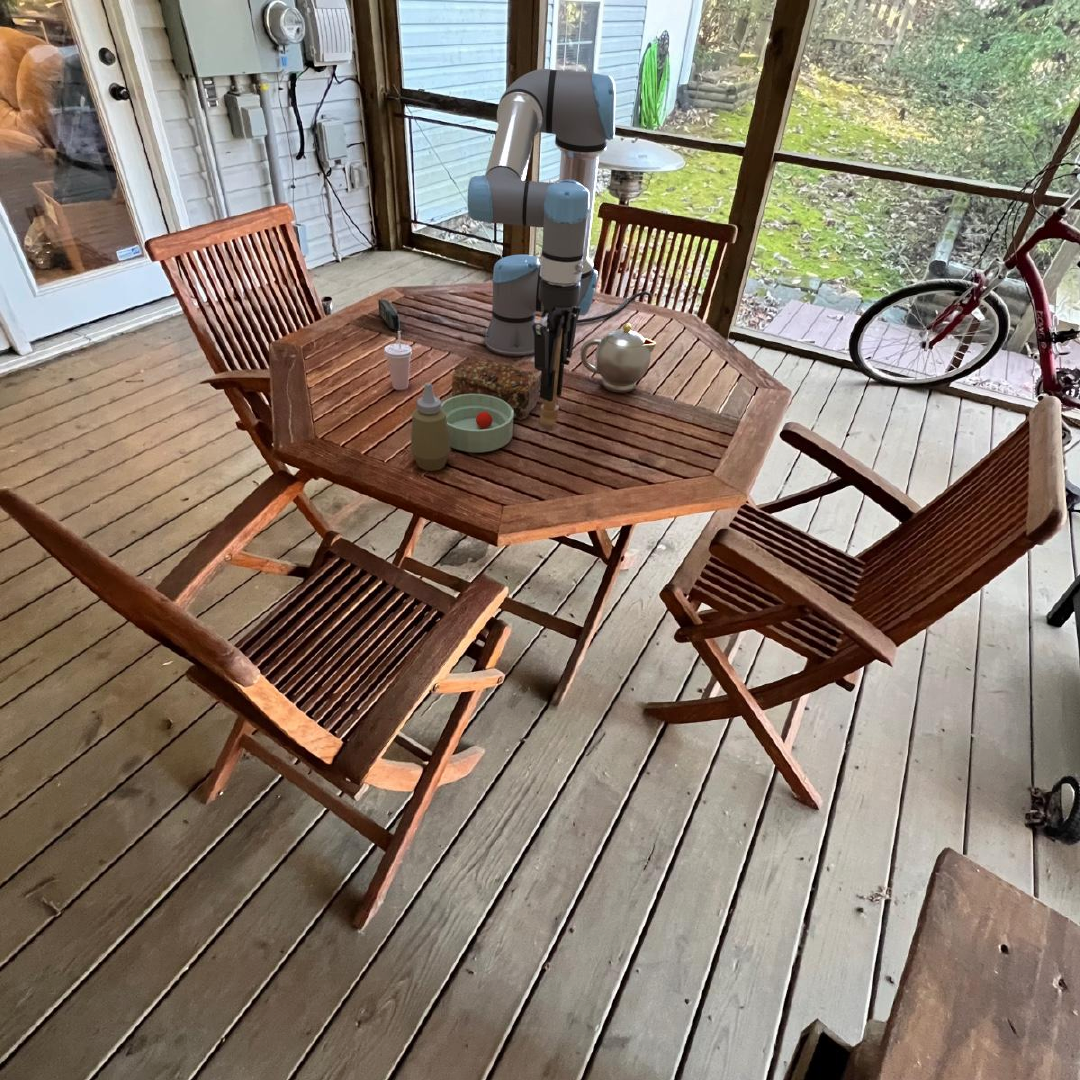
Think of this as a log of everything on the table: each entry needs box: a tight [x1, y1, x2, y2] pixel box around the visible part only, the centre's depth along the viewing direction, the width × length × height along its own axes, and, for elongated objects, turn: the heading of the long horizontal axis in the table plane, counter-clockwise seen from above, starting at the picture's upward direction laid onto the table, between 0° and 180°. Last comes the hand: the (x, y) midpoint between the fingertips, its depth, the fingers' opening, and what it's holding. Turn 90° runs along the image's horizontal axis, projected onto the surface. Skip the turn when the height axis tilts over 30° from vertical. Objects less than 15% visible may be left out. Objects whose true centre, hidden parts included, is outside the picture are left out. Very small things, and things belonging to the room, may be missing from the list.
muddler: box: [539, 328, 563, 425], centre depth 136 cm, size 4×4×20 cm
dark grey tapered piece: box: [377, 299, 403, 334], centre depth 193 cm, size 5×3×15 cm
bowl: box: [441, 394, 514, 454], centre depth 150 cm, size 16×16×6 cm
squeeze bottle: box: [410, 382, 452, 472], centre depth 136 cm, size 8×8×18 cm
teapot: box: [579, 323, 657, 394], centre depth 170 cm, size 18×14×16 cm
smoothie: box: [383, 330, 413, 391], centre depth 162 cm, size 6×6×14 cm
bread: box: [451, 357, 541, 421], centre depth 160 cm, size 19×11×10 cm, turn 71°
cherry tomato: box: [476, 412, 492, 428], centre depth 152 cm, size 4×4×4 cm
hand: (550, 396), depth 139 cm, fingers closed on muddler, 2 cm apart
